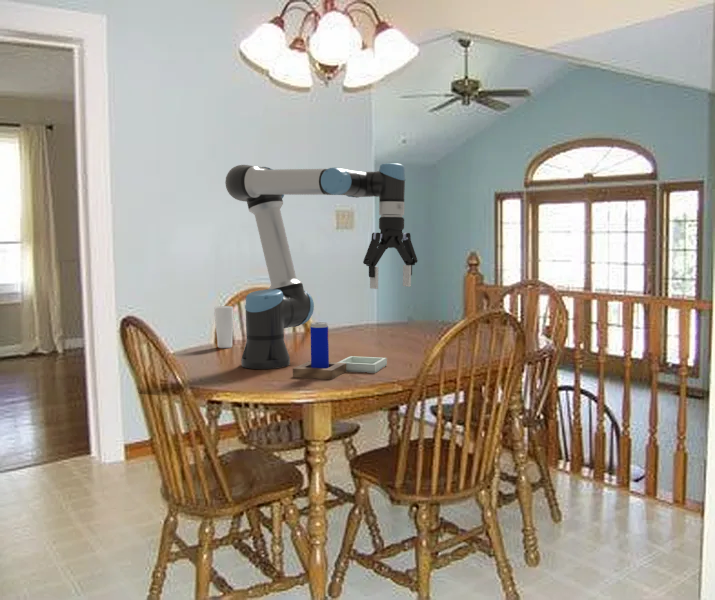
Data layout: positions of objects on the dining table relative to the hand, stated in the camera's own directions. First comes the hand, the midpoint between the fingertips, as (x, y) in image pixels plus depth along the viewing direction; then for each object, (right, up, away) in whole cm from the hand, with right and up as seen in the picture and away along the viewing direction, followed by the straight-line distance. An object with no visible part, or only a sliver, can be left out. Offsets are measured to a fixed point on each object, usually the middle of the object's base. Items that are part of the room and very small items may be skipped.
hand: (390, 287), depth 210 cm
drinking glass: (-59, -21, +47) cm, 78 cm away
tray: (-9, -25, +2) cm, 26 cm away
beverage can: (-21, -26, -6) cm, 34 cm away
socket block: (-21, -25, -6) cm, 33 cm away
